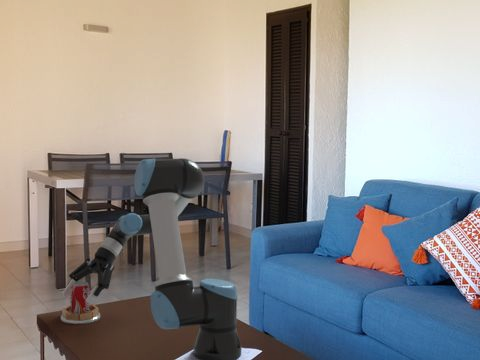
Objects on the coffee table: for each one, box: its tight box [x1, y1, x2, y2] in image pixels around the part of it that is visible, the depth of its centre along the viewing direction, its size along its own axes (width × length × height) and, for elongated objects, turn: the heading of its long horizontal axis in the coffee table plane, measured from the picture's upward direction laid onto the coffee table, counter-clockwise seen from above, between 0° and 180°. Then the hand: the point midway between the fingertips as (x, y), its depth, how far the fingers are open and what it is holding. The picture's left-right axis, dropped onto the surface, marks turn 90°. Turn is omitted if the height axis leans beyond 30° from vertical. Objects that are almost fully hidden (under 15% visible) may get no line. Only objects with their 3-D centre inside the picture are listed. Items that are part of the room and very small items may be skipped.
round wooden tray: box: [60, 303, 101, 325], centre depth 221 cm, size 14×14×4 cm
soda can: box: [69, 280, 91, 313], centre depth 220 cm, size 7×7×12 cm
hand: (76, 299), depth 219 cm, fingers open, 13 cm apart
